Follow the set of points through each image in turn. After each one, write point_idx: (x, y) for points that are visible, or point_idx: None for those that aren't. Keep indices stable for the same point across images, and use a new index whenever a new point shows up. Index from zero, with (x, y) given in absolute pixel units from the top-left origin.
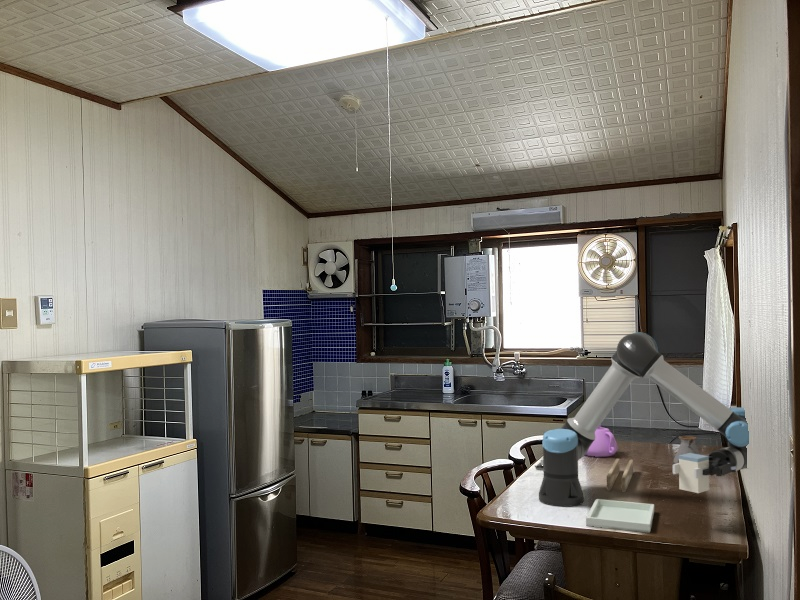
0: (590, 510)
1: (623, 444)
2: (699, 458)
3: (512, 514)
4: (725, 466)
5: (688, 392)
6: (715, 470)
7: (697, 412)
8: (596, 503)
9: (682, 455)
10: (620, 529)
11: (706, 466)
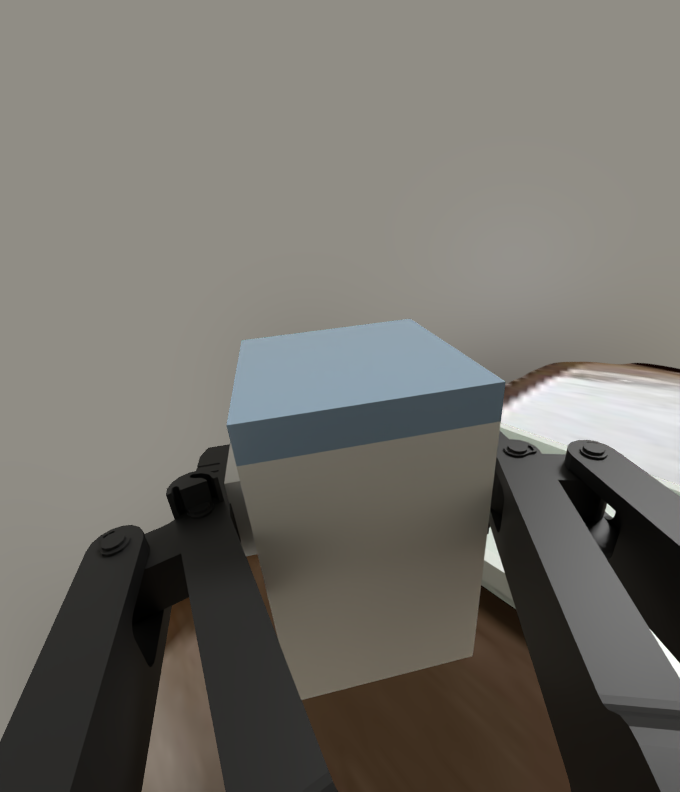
0: (562, 444)
1: None
2: (240, 349)
3: (596, 383)
4: (13, 720)
5: None
6: (155, 541)
7: None
8: (670, 487)
9: (399, 327)
10: None
11: (229, 465)
